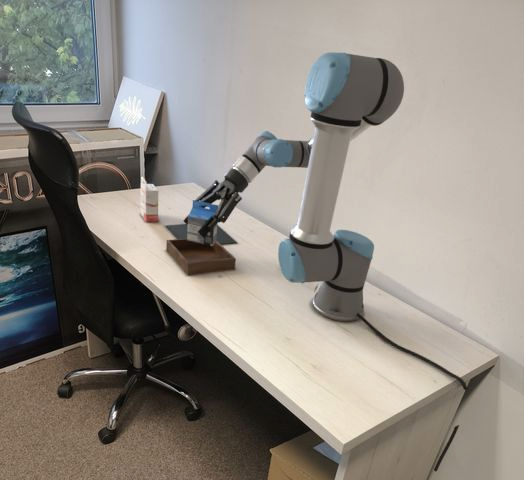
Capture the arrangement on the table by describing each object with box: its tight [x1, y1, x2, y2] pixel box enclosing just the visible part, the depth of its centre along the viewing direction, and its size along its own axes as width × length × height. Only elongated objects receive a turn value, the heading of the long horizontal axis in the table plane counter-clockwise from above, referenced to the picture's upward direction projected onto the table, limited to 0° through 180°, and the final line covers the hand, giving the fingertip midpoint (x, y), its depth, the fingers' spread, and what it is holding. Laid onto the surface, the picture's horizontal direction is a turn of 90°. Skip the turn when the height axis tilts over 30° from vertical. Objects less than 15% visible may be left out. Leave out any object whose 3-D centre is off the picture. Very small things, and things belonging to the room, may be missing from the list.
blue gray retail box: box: [187, 199, 219, 246], centre depth 152 cm, size 9×4×12 cm, turn 76°
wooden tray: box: [165, 238, 237, 276], centre depth 158 cm, size 19×17×4 cm
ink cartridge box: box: [140, 176, 159, 223], centre depth 180 cm, size 9×5×15 cm, turn 25°
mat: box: [165, 223, 238, 246], centre depth 177 cm, size 20×20×1 cm
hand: (193, 229), depth 151 cm, fingers closed on blue gray retail box, 9 cm apart
